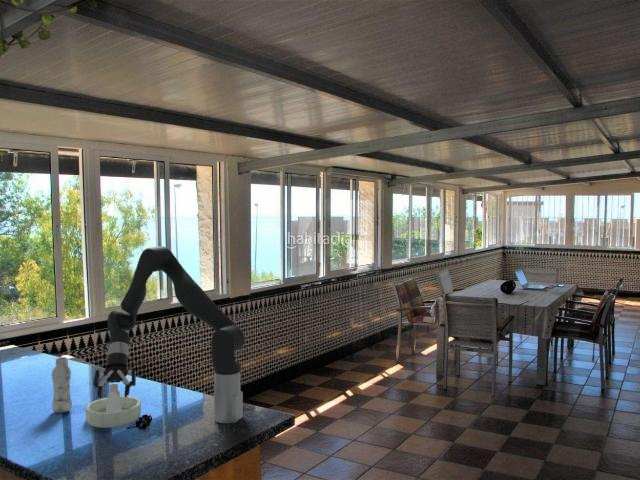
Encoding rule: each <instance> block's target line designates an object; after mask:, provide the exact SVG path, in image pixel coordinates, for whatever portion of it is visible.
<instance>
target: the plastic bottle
mask: <svg viewBox="0 0 640 480" xmlns="http://www.w3.org/2000/svg"><path fill="white" fill-rule="evenodd" d="M71 374H72V371H71V368H70V367H69V366H68V357H56V358H55V367H54V368H53V369H52V371H51V380H52V386H53V387H52V388H53V395H52V396H53V397H52V398H53V399H52V404H51V408H52V411H53V412H54V413H55V414H63V413H68V412H69V411H71V410H72V407H73V406H72V405H73V402H72V398H71V376H72V375H71Z"/></svg>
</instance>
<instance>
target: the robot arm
mask: <svg viewBox="0 0 640 480" xmlns="http://www.w3.org/2000/svg"><path fill="white" fill-rule="evenodd" d="M160 271H162V272H163V273H164V274H165V275H166V276H167V277H168V278H169V279H170V280H171V282H172V284H173V289H174V294H175V297H176V299H177V301H178V303H179V304H181V306H182V307H183V309H185V310H186V311H187V312H188V313H189V314H190V315H192V316H193V317H195V318H196V319H199V320H200V321H203V323H206V324H207V325H209V326H210V327H211V328H212V329H213V330H214V332H213V333H212V337H211V342H210V343H211V344H210V347H211V348H210V349H211V364H212V366H213V368H214V369H213V371H214V372H213V373H214V374H213V376H214V377H213V379H214V380H213V382H214V385H213V386H214V391H213V392H214V397H213V398H214V401H213V403H214V409H213V410H214V414H213V415H214V422H216V423H219V424H236V423H237V422H239V420H241V419H242V418H243V416H244V415H243V414H244V413H243V412H244V411H243V409H244V407H243V406H244V405H243V403H244V402H243V401H244V398H243V397H244V395H243V394H244V392H243V391H241V370H242V368H241V363H240V362H239V361H237V360H236V359H235V351H238V350H239V349H241V348H242V347H243V346H244V345H245V342H246V341H245V340H246V339H245V338H246V337H245V334H244V332H243V329H241V328H240V327H239V326H238V325H237V324H236V323H235V321H233V320H232V319H231V318H230V317H229V316H227V314H225V313H224V312H223V310H221V309H220V308H219V306H218V305H217V304H216V303H215V302H214V301H213V300H212V299H211V298H210V297H209V295H208V294H207V293H206V292H205V290H203V288H202V287H201V286H200V285H199V284H198V283H197V282H196V281H195V280H194V279H193V277H192V276H190V274H189V273H188V272H187V271H186V270H185V268H184V267H183V266H182V264H181V262H180V261H179V260H178V259H177V257H176V256H175V255H174V253H173V252H172V251H171V250H170V249H169V248H168V247H167V246H164V245H163V246H161V245H160V246H152V247H147V248H145V249H144V250H143V251H142V252H141V254H140V256H139V258H138V261H137V265H136V268H135V270H134V274H133V277H132V280H131V283H130V285H129V287H128V290H127V291H126V293H125V295H124V296H123V298H122V301H121V303H120V308H121V309H122V310H119V309H115V310H114V309H113V310H112V311H111V312H110V313H109V314H108V316H107V327H108V332H109V338H110V339H109V345H108V350H107V354H106V363H105V369H104V371H103V370H101V371H100V370H99V369H97V370H95V373H94V377H93V382H92V383H93V387H94V389H97V393H96V394H97V395H96V396H97V397H98V398H99V399H103V394H104V388H105V387H106V386H108V385H109V383H110V384H115V383H116V384H117V383H120V382H122V384H123V385H125V386H124V387H125V388H124V395H123V396H125V397H127V396H129V395H130V392H131V391H130V389H131V387H135V386H136V381H137V378H136V376H137V373H136V372H137V371H136V368H135V367H133V368H131V369H128V364H129V358H130V357H129V356H130V355H129V353H130V351H129V350H130V349H129V348H130V347H129V346H130V334H129V332H130V331H131V330H133V329H134V328H135V326H136V322H137V317H138V312H139V309H140V308H141V305H142V304H143V303H144V300H145V298H146V295H147V282H148V280H149V278H150V277H151V275H152V274H153V273H154V272H160ZM128 374H129V376H130V377H131V381H129V380H128V378H127V376H128ZM102 376H104V377H103V378H102ZM101 378H102V380H101V381H100V379H101ZM99 381H100V382H99Z"/></svg>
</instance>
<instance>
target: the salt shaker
mask: <svg viewBox="0 0 640 480" xmlns="http://www.w3.org/2000/svg"><path fill="white" fill-rule="evenodd" d="M118 388H119V385H118V384H117V383H110V384H109V392H108V393H107V397H108V400H107V410H106V413H107V412H118V411H122V408H121V400H120V396H121V394H120V393H121V392H120V391H119V389H118Z"/></svg>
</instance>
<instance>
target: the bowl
mask: <svg viewBox="0 0 640 480" xmlns="http://www.w3.org/2000/svg"><path fill="white" fill-rule="evenodd" d="M107 400H108V396H107V397H102V399H100V398H99V399H96V400H93V401H91V402H90V403H88V404H87V405H86V407H85V421H86V424H87V425H88V426H89V427H94V428H99V429H107V428H108V429H110V428H111V429H112V428H118V427H122V426H127V425H130V424H132V423H134V422H137V421H138V420H139V419H140V418H141V413H142V401H141V399H139V398H137V397H135V396H129V395H127V397H125V395H120V400H121V408H122V411H118V412H107V413H106V410H107ZM139 417H140V418H139ZM138 418H139V419H138Z"/></svg>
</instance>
